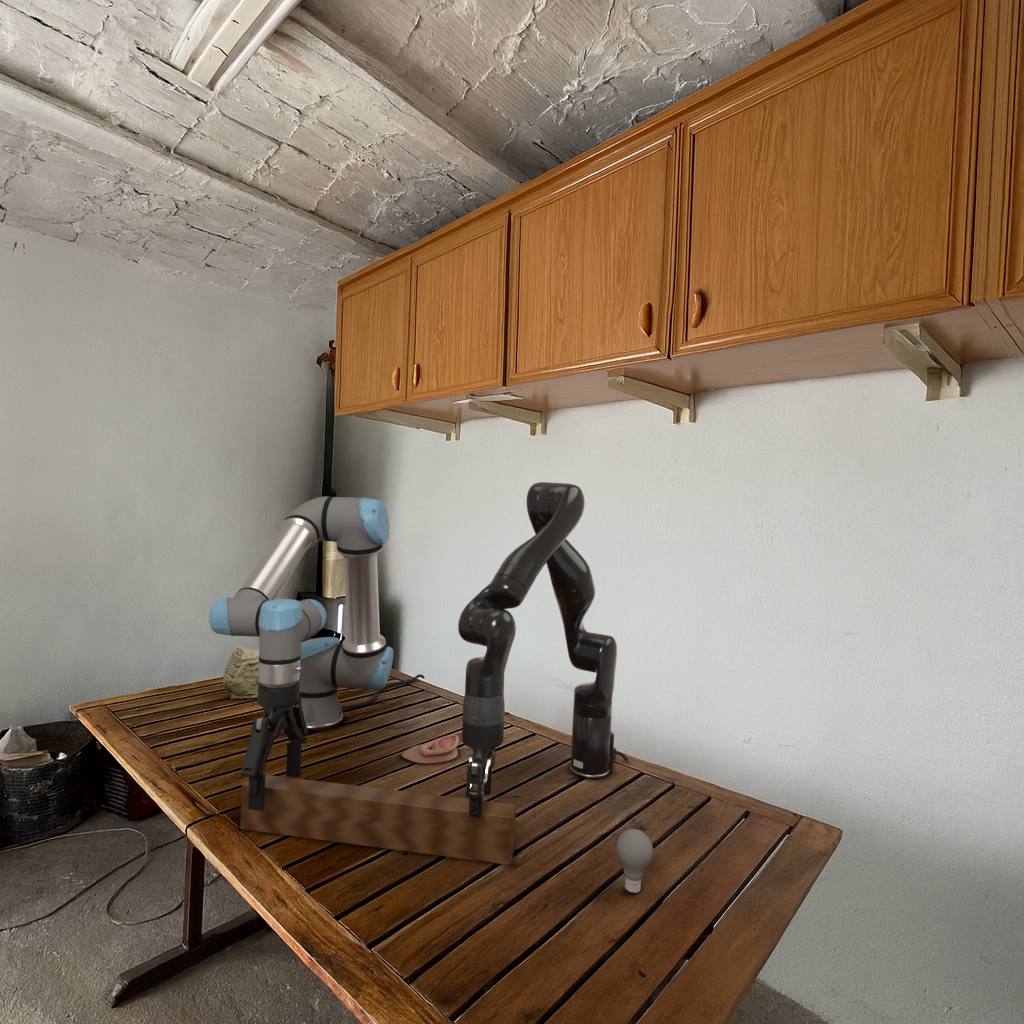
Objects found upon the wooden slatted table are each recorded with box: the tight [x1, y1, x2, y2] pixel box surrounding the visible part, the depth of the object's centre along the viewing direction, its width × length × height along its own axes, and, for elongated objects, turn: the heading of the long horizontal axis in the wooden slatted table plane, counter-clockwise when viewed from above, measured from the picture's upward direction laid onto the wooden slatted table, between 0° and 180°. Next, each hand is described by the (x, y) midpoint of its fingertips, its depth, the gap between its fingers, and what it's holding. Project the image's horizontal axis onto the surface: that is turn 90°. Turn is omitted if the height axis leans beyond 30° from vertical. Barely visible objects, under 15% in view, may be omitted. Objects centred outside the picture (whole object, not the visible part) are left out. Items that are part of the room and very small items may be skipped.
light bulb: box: [615, 828, 654, 894], centre depth 106 cm, size 6×6×10 cm
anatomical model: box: [401, 734, 460, 764], centre depth 158 cm, size 13×4×12 cm
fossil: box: [222, 646, 260, 699], centre depth 198 cm, size 9×18×15 cm, turn 132°
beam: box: [239, 774, 517, 866], centre depth 118 cm, size 52×5×8 cm, turn 81°
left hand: (275, 791), depth 121 cm, fingers open, 13 cm apart
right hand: (480, 804), depth 115 cm, fingers open, 8 cm apart
